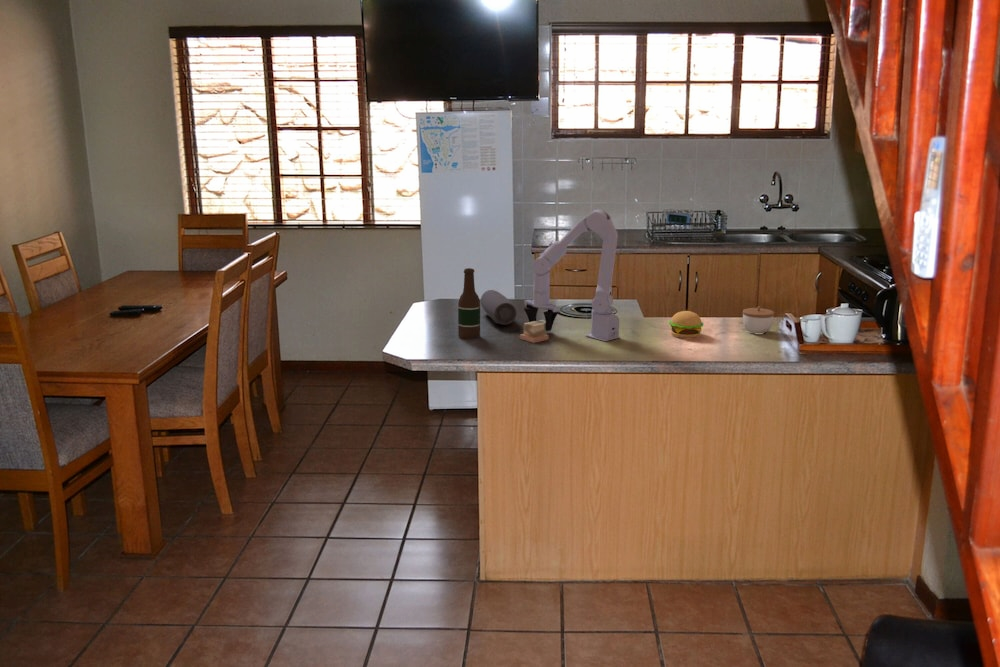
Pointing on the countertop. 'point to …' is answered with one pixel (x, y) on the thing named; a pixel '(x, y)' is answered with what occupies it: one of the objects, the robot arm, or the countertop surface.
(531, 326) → the maple block
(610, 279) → the robot arm
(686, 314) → the hamburger
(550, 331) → the sage block
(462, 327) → the beer bottle
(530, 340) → the plinth
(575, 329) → the countertop surface
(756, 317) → the lidded jar
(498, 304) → the bluetooth speaker
